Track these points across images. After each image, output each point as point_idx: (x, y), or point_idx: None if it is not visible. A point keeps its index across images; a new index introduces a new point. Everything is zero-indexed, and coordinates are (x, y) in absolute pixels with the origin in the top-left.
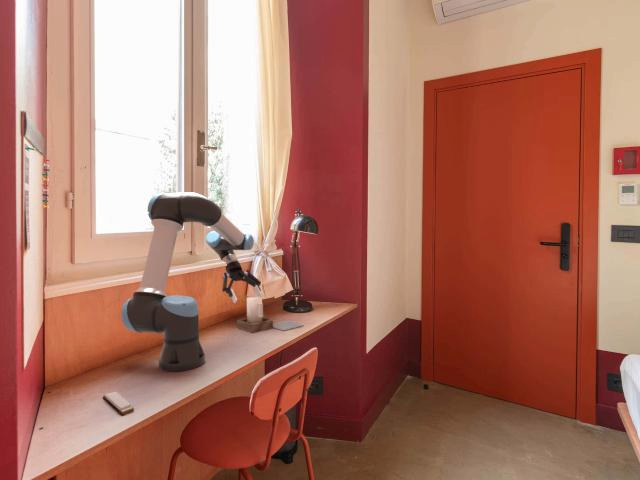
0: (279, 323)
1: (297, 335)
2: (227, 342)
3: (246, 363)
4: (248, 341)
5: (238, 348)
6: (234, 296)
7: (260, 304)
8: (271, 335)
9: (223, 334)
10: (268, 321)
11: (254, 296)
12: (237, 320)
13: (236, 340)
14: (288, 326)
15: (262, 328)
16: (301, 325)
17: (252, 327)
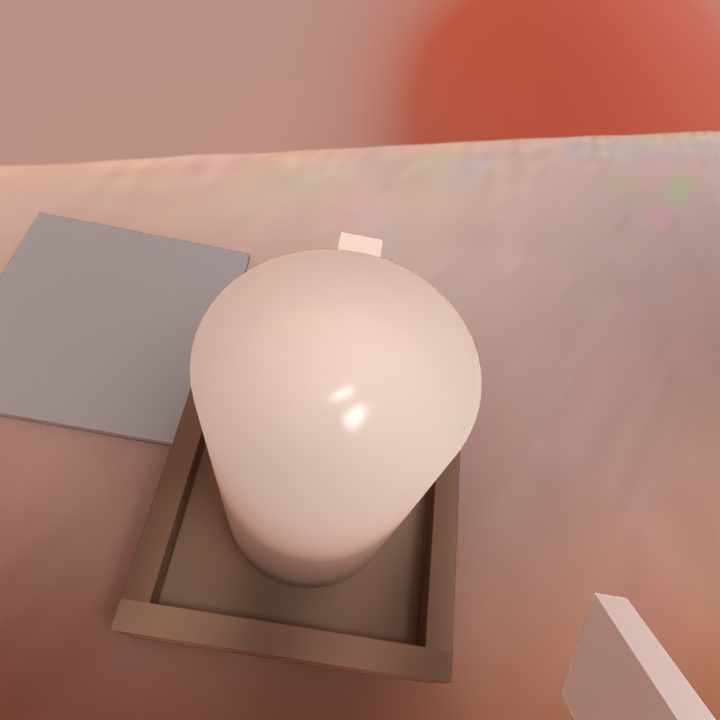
0: (90, 390)
1: (266, 153)
2: (674, 389)
3: (691, 136)
4: (554, 300)
5: (654, 266)
6: (679, 675)
7: (377, 241)
8: None
9: (635, 577)
10: None
11: (267, 428)
12: (450, 662)
13: (608, 373)
14: (137, 278)
15: None
16: (58, 220)
17: None
